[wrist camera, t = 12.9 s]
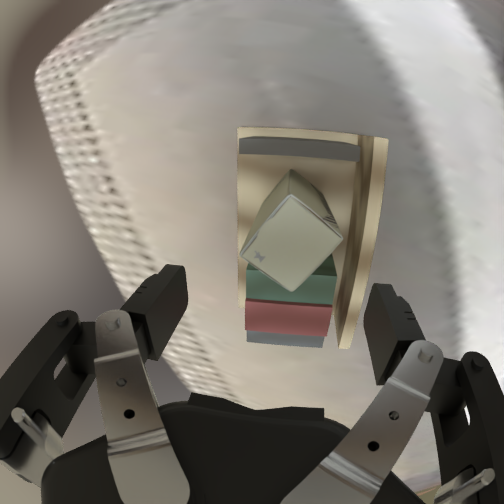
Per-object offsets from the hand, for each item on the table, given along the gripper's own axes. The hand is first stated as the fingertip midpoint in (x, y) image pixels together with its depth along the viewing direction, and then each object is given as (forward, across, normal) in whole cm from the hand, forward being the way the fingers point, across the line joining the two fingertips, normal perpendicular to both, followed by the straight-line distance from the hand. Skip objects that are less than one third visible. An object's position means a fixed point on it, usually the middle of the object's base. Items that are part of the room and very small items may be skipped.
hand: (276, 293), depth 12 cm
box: (+18, 0, +1) cm, 18 cm away
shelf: (+20, -1, +4) cm, 20 cm away
